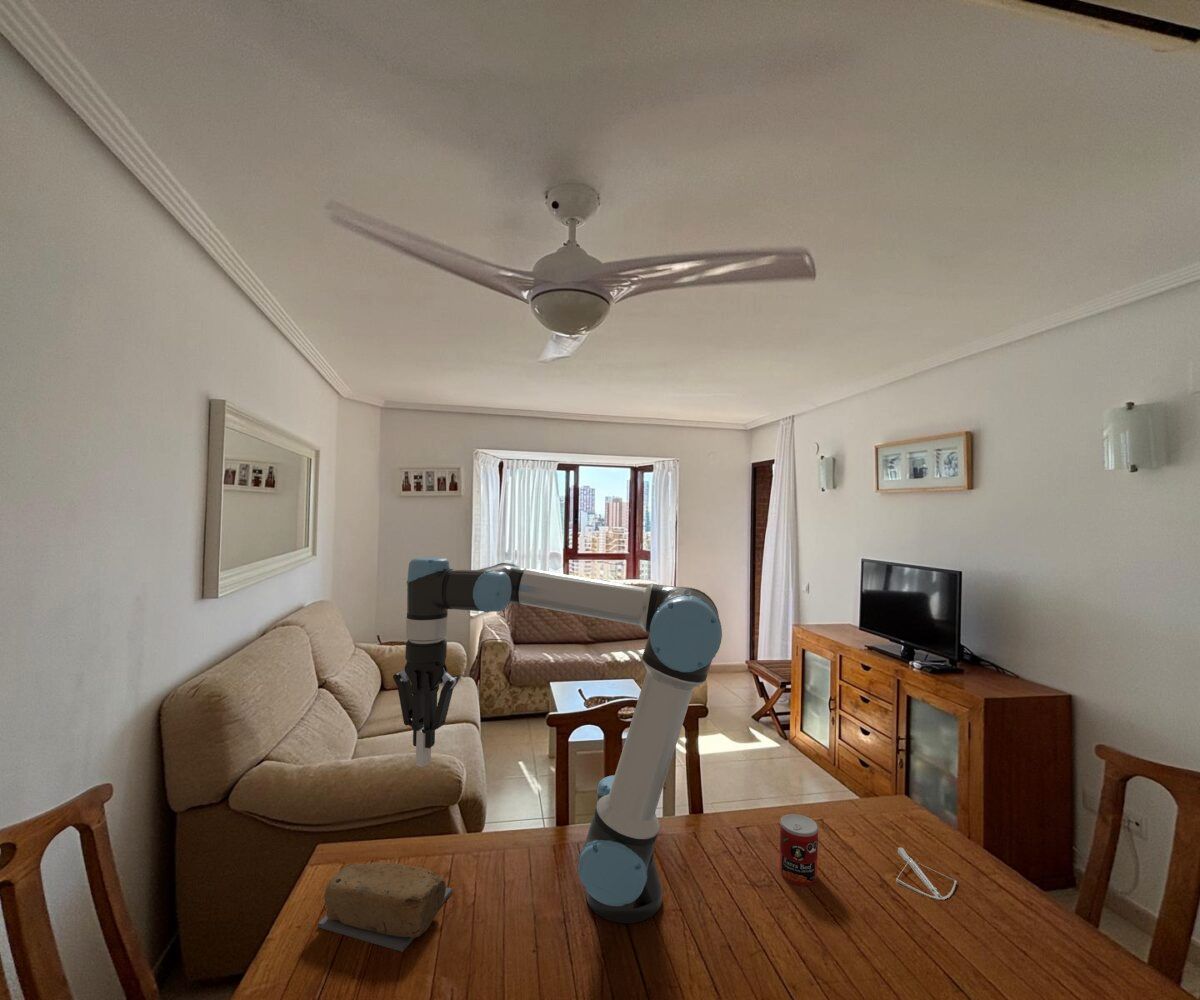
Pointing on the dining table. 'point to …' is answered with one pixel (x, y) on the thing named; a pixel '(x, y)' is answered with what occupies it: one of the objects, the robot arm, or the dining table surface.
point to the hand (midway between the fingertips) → (423, 763)
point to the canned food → (798, 849)
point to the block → (385, 898)
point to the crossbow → (922, 878)
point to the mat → (370, 932)
